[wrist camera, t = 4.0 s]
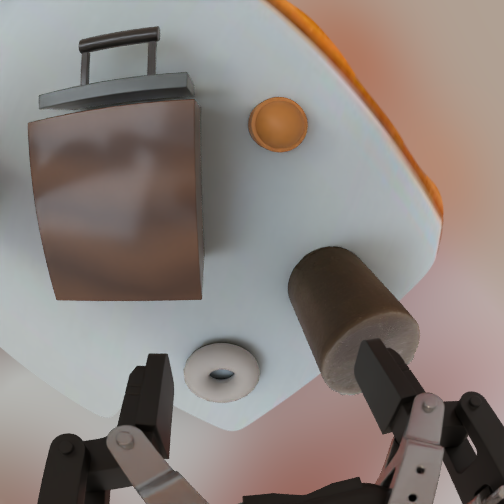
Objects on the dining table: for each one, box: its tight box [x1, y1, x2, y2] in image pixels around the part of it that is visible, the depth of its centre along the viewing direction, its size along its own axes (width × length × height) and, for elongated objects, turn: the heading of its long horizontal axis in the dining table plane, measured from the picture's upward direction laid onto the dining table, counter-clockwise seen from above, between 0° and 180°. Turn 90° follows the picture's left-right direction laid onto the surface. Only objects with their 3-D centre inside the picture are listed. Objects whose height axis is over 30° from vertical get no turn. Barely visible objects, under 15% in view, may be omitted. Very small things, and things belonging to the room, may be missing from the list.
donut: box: [184, 343, 260, 403], centre depth 39 cm, size 10×4×10 cm
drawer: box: [39, 26, 194, 110], centre depth 24 cm, size 19×12×7 cm, turn 179°
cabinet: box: [28, 99, 204, 301], centre depth 26 cm, size 16×14×9 cm
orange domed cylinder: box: [248, 97, 308, 152], centre depth 27 cm, size 5×5×5 cm
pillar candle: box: [288, 247, 420, 395], centre depth 30 cm, size 10×10×15 cm
